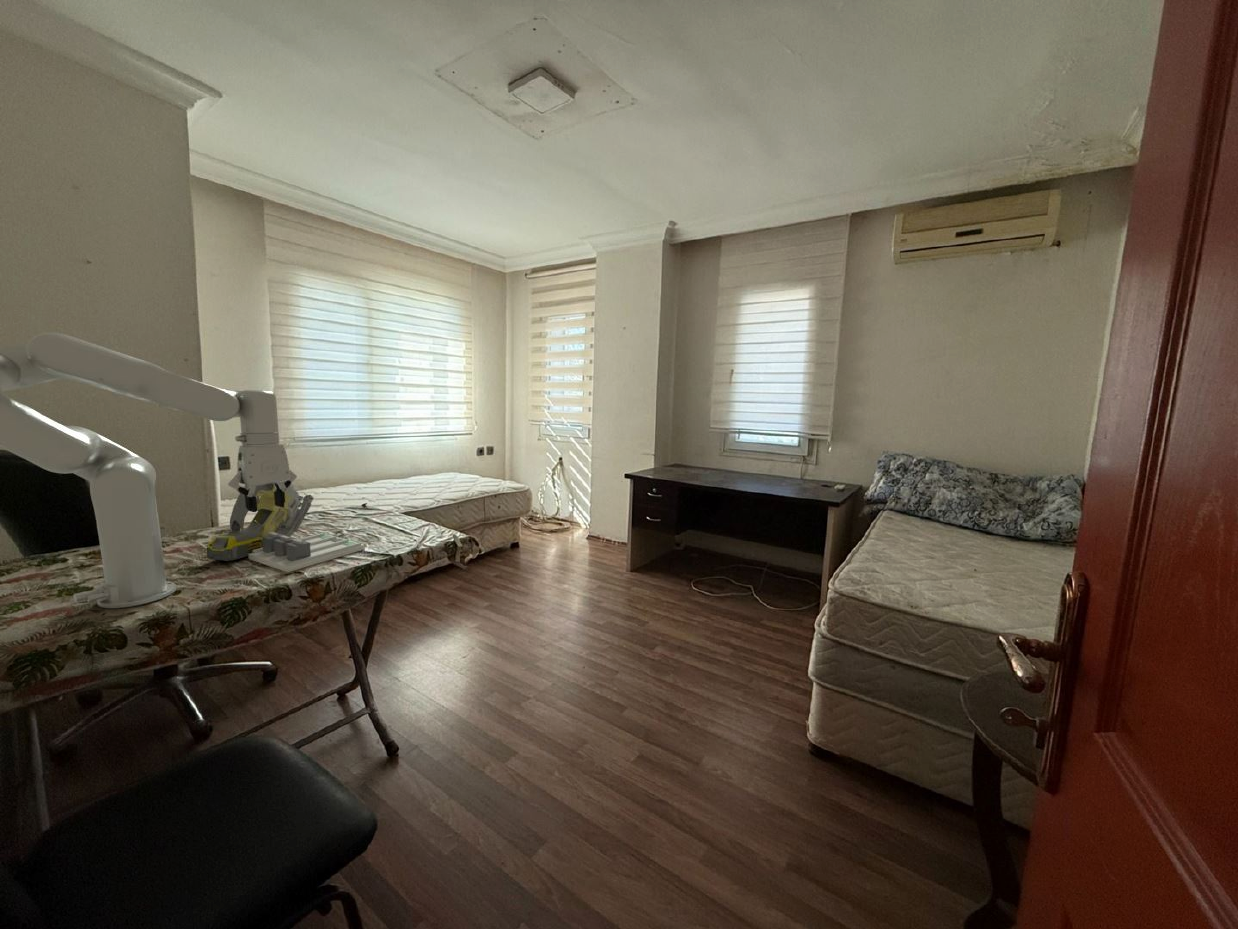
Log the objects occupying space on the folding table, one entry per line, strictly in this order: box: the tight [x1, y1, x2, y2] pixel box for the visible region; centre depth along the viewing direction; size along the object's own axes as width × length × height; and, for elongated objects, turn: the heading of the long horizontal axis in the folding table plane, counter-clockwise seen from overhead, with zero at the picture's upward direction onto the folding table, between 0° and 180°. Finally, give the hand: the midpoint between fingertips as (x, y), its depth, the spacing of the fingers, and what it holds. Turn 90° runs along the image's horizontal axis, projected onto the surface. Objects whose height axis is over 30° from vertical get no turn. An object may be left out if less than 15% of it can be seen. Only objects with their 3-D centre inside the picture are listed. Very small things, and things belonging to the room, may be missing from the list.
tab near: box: [286, 538, 311, 561], centre depth 129 cm, size 4×4×5 cm
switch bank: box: [247, 532, 366, 573], centre depth 137 cm, size 22×19×2 cm
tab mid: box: [274, 535, 297, 557], centre depth 132 cm, size 4×4×5 cm
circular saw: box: [206, 483, 314, 562], centre depth 142 cm, size 10×30×25 cm
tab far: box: [262, 532, 283, 553], centre depth 134 cm, size 4×4×5 cm
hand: (266, 508), depth 121 cm, fingers open, 5 cm apart
